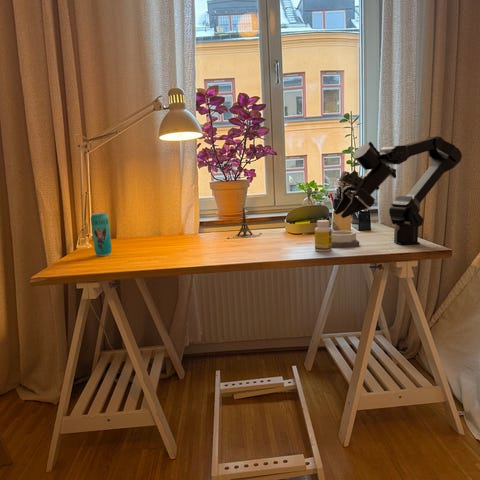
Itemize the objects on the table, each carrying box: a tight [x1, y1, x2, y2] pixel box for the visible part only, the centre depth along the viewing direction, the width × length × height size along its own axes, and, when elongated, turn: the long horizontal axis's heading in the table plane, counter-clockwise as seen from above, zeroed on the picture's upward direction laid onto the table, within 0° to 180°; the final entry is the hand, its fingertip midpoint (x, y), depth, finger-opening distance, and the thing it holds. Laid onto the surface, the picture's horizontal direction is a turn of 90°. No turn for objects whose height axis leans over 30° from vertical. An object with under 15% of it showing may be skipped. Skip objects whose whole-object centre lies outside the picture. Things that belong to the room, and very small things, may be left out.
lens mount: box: [332, 230, 360, 248], centre depth 137 cm, size 10×10×4 cm
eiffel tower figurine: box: [226, 204, 263, 239], centre depth 164 cm, size 15×10×13 cm
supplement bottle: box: [314, 219, 333, 253], centre depth 128 cm, size 5×5×10 cm
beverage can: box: [90, 211, 113, 257], centre depth 139 cm, size 6×6×15 cm
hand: (338, 215), depth 127 cm, fingers open, 9 cm apart
